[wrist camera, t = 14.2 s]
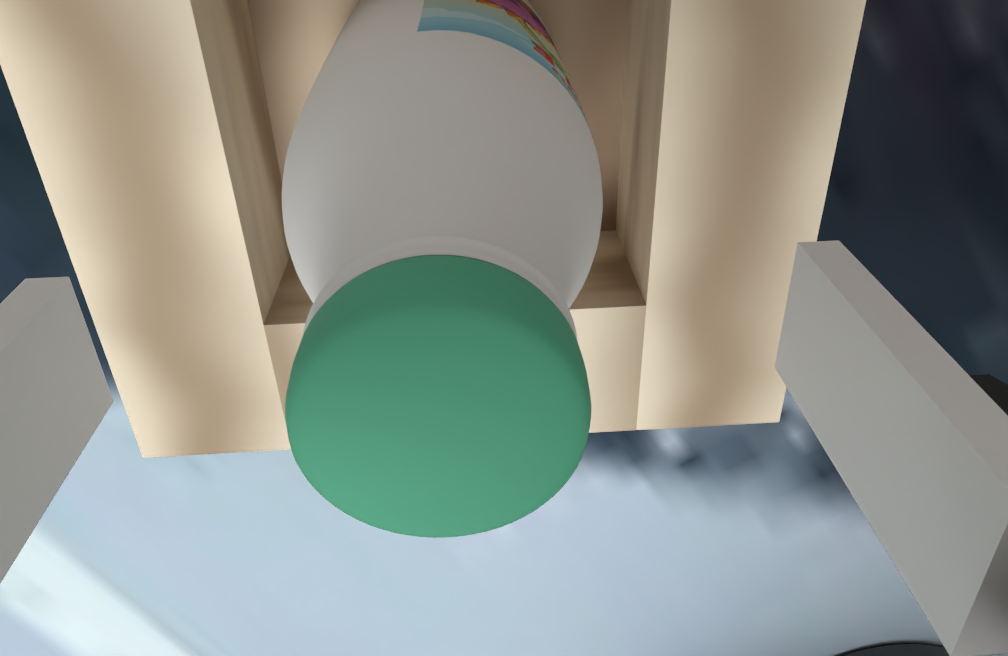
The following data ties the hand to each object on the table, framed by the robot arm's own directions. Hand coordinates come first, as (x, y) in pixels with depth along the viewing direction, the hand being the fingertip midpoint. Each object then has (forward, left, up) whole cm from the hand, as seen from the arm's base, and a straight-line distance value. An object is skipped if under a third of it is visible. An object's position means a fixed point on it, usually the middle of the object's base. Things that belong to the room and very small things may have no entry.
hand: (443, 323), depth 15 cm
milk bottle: (0, 0, -17) cm, 17 cm away
